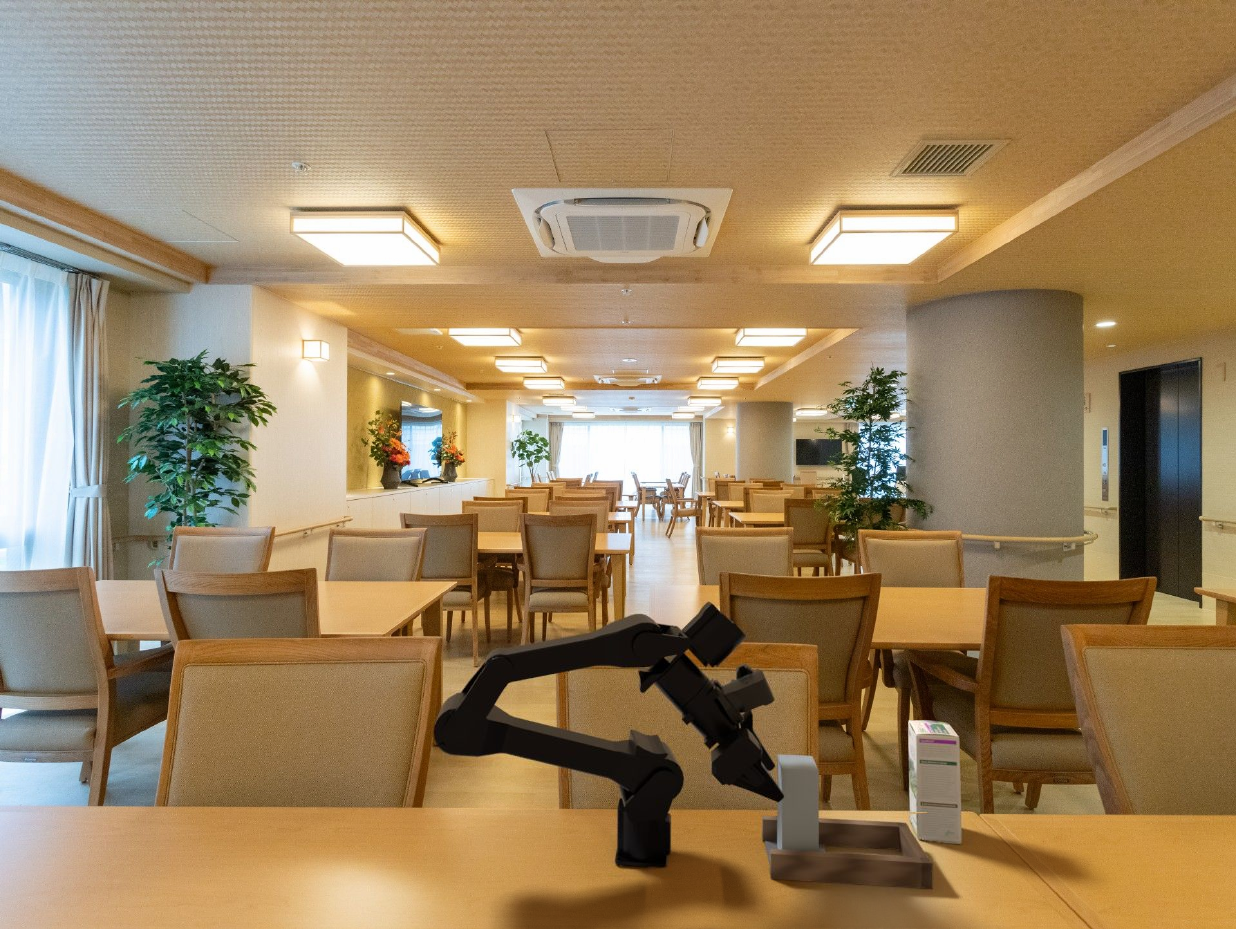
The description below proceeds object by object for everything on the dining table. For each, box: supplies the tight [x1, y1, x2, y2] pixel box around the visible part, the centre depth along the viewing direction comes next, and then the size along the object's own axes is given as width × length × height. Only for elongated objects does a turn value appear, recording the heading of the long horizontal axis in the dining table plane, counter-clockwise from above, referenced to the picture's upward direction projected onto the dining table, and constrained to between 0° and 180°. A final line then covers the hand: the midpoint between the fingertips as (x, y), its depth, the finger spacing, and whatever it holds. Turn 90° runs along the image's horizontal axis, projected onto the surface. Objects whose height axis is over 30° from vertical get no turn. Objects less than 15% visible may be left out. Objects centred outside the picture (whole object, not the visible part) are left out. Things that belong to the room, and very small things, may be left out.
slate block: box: [776, 753, 820, 851], centre depth 89 cm, size 4×4×12 cm
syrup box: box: [907, 719, 963, 845], centre depth 96 cm, size 6×6×14 cm
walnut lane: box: [761, 814, 934, 890], centre depth 88 cm, size 19×10×3 cm, turn 85°
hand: (777, 783), depth 89 cm, fingers open, 9 cm apart
